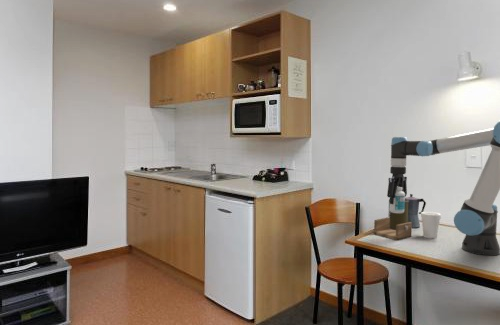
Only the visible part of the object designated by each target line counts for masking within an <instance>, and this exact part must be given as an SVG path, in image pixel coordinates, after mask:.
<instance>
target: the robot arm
mask: <svg viewBox="0 0 500 325" xmlns="http://www.w3.org/2000/svg"><path fill="white" fill-rule="evenodd" d="M488 146H489V147H491V150H490V153H489V155H488V157H487V159H486V162H485V163H484V166H483V168H482V171H481V173H480V175H479V178H478V180H477V182H476V185H475V186H474V189H473V191H472V193H471V195H470V198H468V199H466V200H464V201H463V203H462V206H461V207H460V210H459V211H457V212H456V213H455V214H454V217H453V222H454V226H455V228H456V230H458V231H459V232H460V233H462V234H464V235H465V236H464V238H463V240H462V243H461V248H462V249H463V251H467V252H469V253H473V254H476V255H482V256H483V255H484V256H497V255H500V244H499V241H498V238H497V226H498V222H497V221H498V212H499V211H498V207H497V205H495V204H494V202H495V201H496V198H497V197H498V194H499V192H500V120H499V121H497V122H496V124H495V125H494V126H493V127H492V128H488V129H484V130H483V129H482V130H479V131H473V132H469V133H463V134H457V135H453V136H448V137H443V138H438V139H432V140H408V138H407V137H406V136H401V137H399V136H394V137H392V138H391V145H390V149H391V150H390V172H389V173H390V174H392V177H388V186H387V194H386V195H387V196H386V197H387V198H389V199H390V210H394V211H395V201H396V198H395V194H396V190H397V187H402V191H403V192H404V193H405V198H406V197H407V196H408V189H407V188H408V187H407V181H408V180H407V179H408V178H407V177H408V176H404V175H406V173H407V167H406V166H407V156H414V157H430V156H435V155H437V154H438V155H439V154H445V153H450V152H451V153H452V152H457V151H464V150H470V149H475V148H482V147H488Z"/></svg>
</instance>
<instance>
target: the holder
mask: <svg viewBox="0 0 500 325" xmlns="http://www.w3.org/2000/svg"><path fill="white" fill-rule="evenodd" d="M373 224H374V226H373V227H374V232H373V234H374V235H376V236H380V237H383V238H388V239H391V240H395V241H402V240H405V239H408V238H412V231H413V229H412V223H411V222H407V223H403V224H398V225H396V230H392V229H390V218H389V217H388V216H387V217H383V218H379V219H374V223H373Z"/></svg>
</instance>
